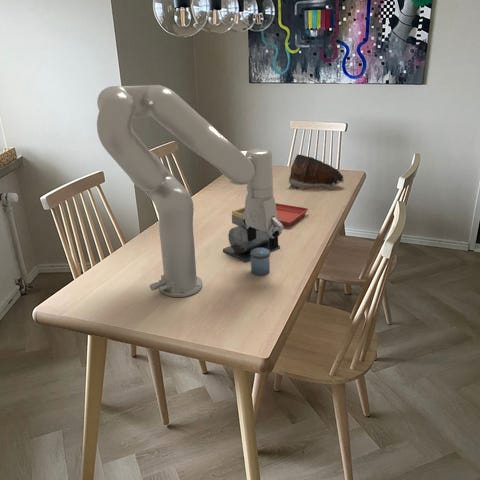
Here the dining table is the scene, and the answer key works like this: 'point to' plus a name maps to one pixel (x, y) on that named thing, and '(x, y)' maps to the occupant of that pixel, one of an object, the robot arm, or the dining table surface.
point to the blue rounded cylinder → (260, 261)
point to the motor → (245, 239)
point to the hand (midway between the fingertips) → (262, 244)
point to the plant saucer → (289, 214)
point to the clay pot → (313, 173)
